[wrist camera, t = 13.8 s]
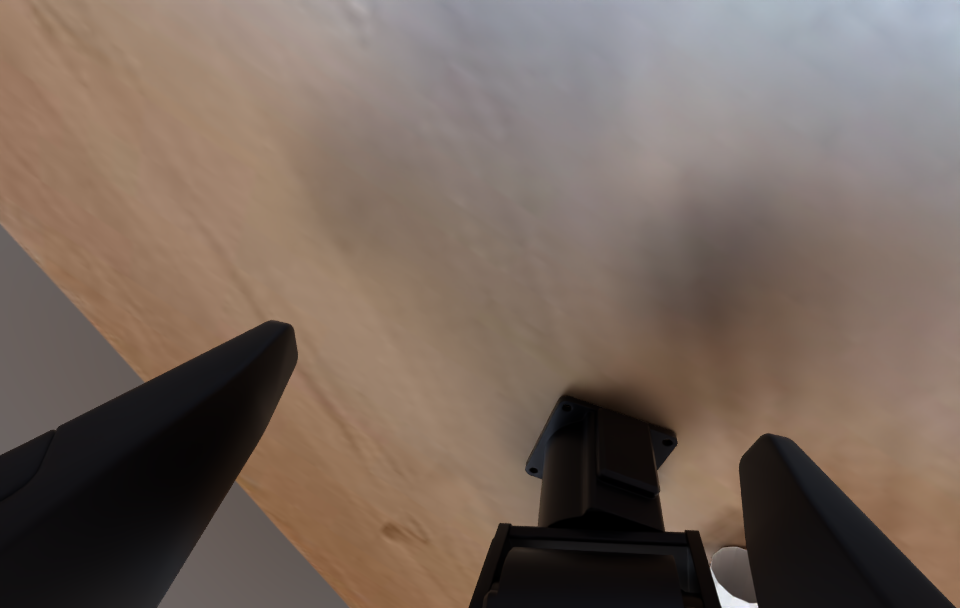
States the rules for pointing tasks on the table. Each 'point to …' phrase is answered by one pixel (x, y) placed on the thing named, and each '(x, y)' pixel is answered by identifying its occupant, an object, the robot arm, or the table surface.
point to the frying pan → (733, 578)
